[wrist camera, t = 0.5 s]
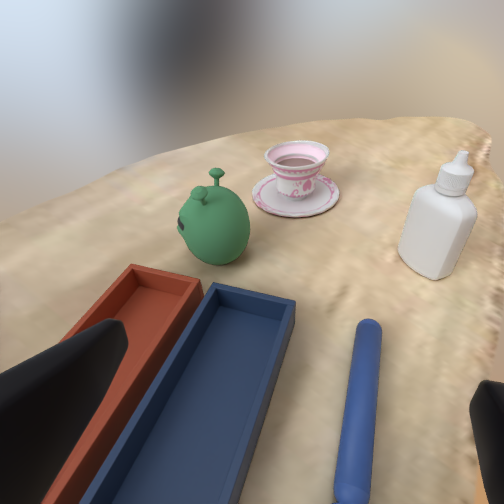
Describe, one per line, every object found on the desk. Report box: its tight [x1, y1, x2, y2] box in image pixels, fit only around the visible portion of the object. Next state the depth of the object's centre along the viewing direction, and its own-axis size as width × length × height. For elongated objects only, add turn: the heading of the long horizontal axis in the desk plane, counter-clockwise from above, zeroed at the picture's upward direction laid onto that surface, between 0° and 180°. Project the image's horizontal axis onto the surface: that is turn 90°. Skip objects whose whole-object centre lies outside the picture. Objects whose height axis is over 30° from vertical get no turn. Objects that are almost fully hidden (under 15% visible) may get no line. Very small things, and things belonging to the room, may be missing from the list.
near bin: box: [79, 282, 296, 504], centre depth 22 cm, size 20×8×3 cm, turn 160°
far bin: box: [41, 264, 204, 504], centre depth 25 cm, size 20×8×3 cm, turn 160°
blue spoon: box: [332, 319, 382, 504], centre depth 22 cm, size 17×4×2 cm, turn 160°
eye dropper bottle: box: [398, 150, 477, 280], centre depth 30 cm, size 4×6×12 cm
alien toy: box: [177, 168, 250, 265], centre depth 33 cm, size 7×8×10 cm
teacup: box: [252, 141, 340, 217], centre depth 43 cm, size 12×12×6 cm
